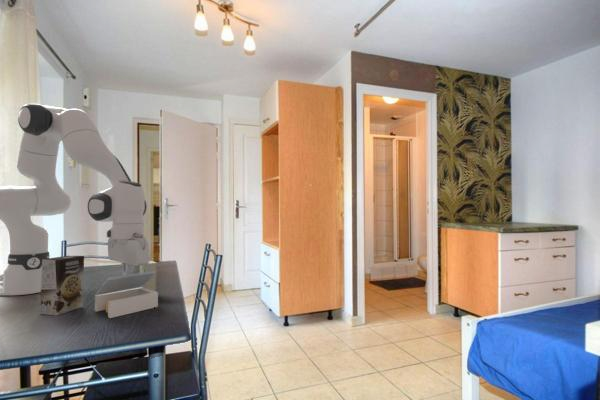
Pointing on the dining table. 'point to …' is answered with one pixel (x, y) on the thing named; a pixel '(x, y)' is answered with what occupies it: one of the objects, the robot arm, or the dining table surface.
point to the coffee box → (61, 284)
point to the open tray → (126, 301)
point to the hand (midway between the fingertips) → (127, 277)
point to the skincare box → (152, 281)
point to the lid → (124, 282)
